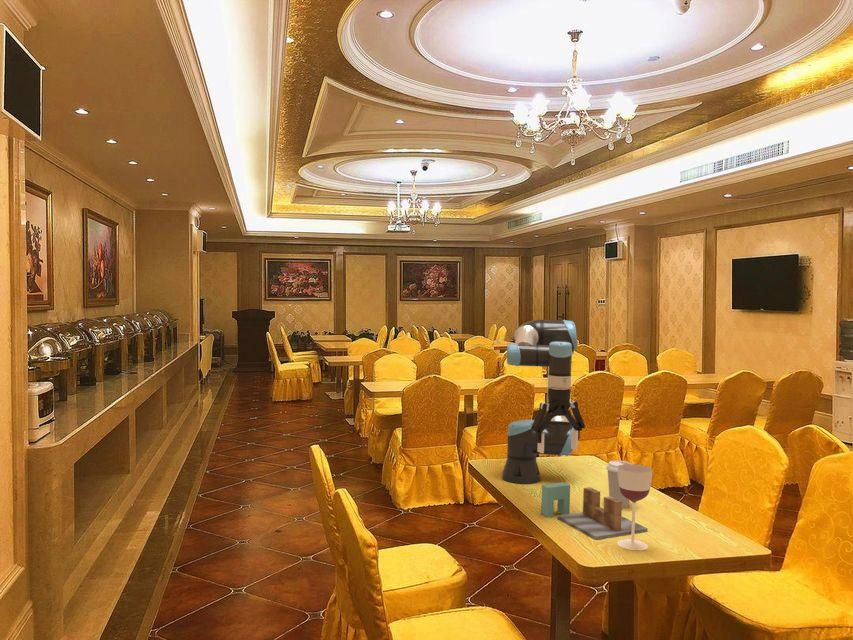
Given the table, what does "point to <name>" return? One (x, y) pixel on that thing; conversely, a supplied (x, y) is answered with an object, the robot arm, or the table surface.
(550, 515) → the green arch block
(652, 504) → the table surface
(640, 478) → the wineglass
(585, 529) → the joint base
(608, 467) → the coffee cup
